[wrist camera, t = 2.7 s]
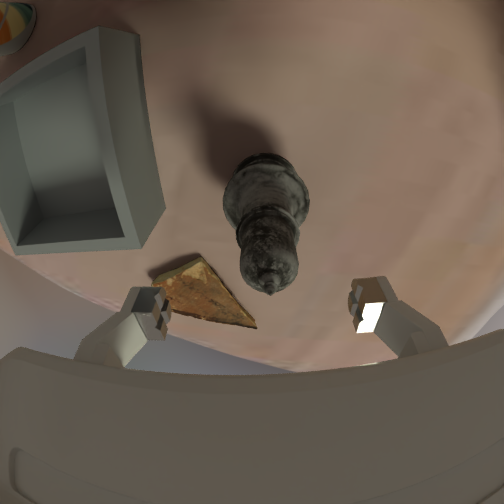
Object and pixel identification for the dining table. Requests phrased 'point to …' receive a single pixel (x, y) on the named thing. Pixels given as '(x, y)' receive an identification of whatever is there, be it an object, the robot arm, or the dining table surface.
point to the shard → (202, 295)
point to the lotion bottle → (15, 26)
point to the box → (78, 149)
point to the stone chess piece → (267, 219)
